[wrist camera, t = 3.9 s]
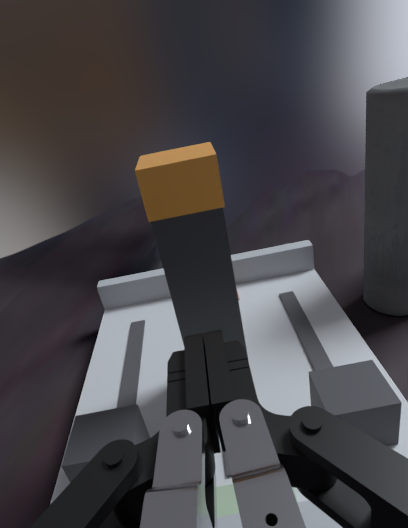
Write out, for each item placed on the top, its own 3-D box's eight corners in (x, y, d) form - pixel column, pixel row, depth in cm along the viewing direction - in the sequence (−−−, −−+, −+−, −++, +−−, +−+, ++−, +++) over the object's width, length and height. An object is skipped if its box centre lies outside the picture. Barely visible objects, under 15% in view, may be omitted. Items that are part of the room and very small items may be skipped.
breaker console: (489, 565, 17) (514, 489, 14) (40, 644, 17) (-15, 585, 14) (311, 285, 38) (308, 235, 35) (114, 323, 38) (97, 276, 36)
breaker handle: (254, 388, 24) (216, 154, 17) (196, 399, 24) (134, 170, 17) (246, 354, 26) (209, 142, 20) (193, 364, 27) (140, 155, 20)
